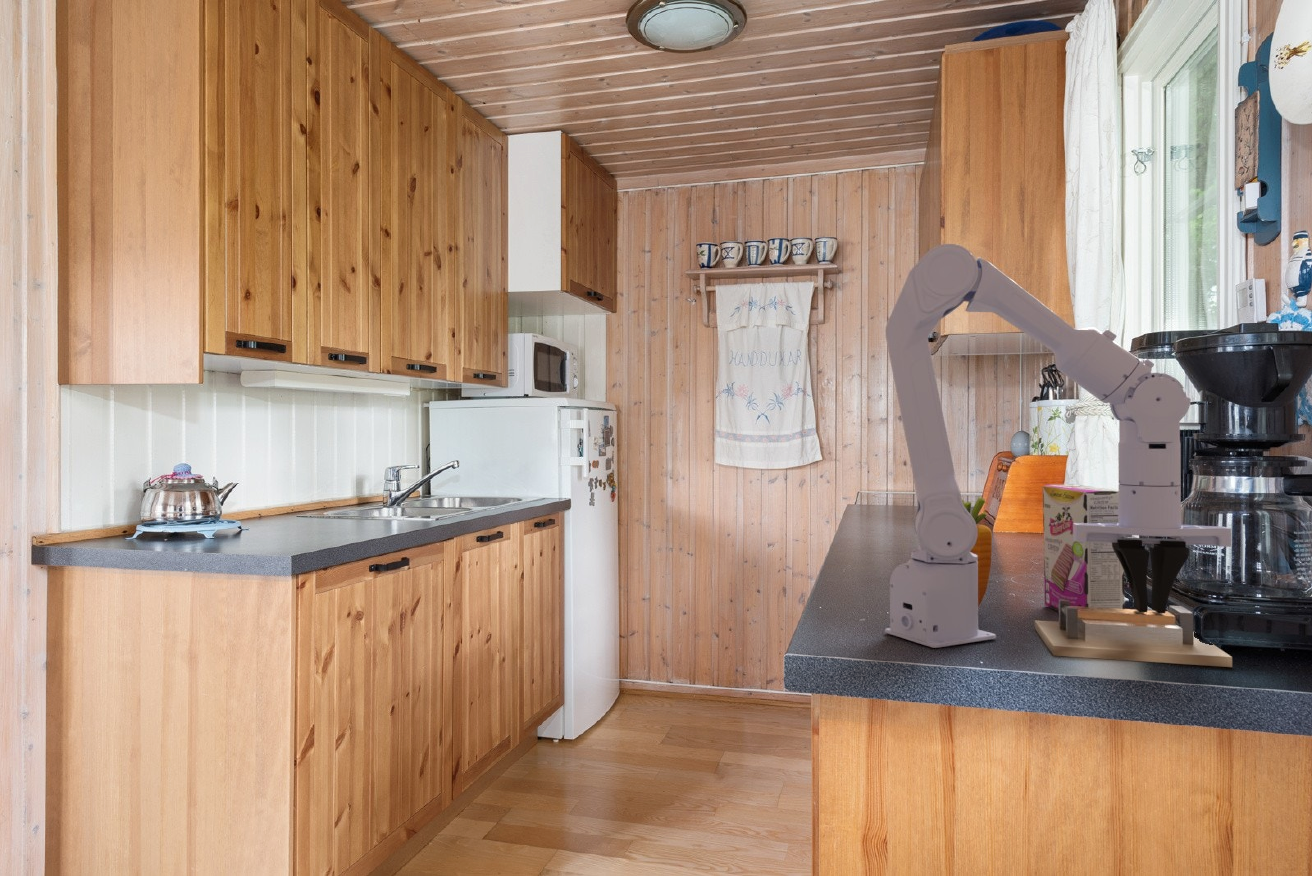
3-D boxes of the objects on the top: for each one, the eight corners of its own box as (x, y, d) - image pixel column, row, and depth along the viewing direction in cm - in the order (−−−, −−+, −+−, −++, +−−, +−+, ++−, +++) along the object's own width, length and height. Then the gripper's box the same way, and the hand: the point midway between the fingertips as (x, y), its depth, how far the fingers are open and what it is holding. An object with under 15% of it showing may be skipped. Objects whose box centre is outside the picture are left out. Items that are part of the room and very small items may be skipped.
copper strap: (1065, 617, 87) (1065, 609, 87) (1061, 613, 89) (1061, 605, 89) (1175, 624, 84) (1175, 615, 84) (1167, 619, 86) (1167, 610, 86)
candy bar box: (1041, 606, 107) (1040, 484, 107) (1078, 606, 107) (1077, 484, 107) (1085, 626, 96) (1084, 490, 96) (1127, 626, 96) (1126, 489, 96)
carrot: (947, 607, 107) (946, 495, 107) (985, 607, 107) (984, 495, 106) (960, 615, 102) (960, 498, 102) (1000, 615, 102) (999, 498, 102)
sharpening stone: (1069, 641, 85) (1069, 610, 85) (1057, 626, 92) (1056, 597, 92) (1199, 649, 81) (1199, 616, 81) (1176, 632, 88) (1176, 603, 88)
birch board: (1053, 655, 83) (1053, 645, 83) (1034, 628, 94) (1034, 620, 94) (1232, 667, 78) (1232, 657, 78) (1189, 637, 90) (1189, 628, 90)
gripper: (1213, 483, 87) (1213, 606, 87) (1067, 482, 92) (1067, 599, 92) (1239, 487, 81) (1240, 621, 81) (1080, 485, 85) (1081, 612, 85)
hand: (1149, 610), depth 86 cm, fingers closed
